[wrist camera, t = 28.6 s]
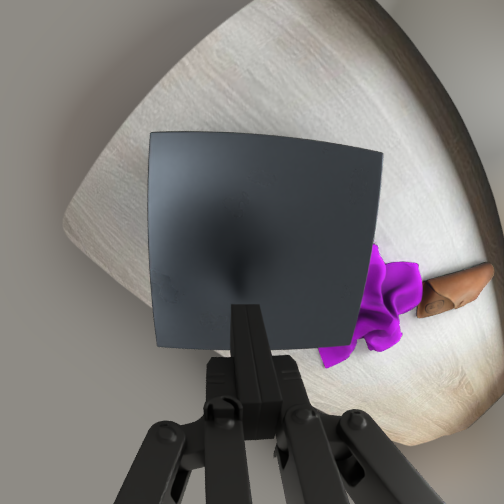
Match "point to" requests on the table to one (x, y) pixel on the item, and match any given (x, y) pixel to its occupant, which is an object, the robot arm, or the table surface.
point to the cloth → (381, 307)
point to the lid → (259, 236)
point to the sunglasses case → (453, 289)
